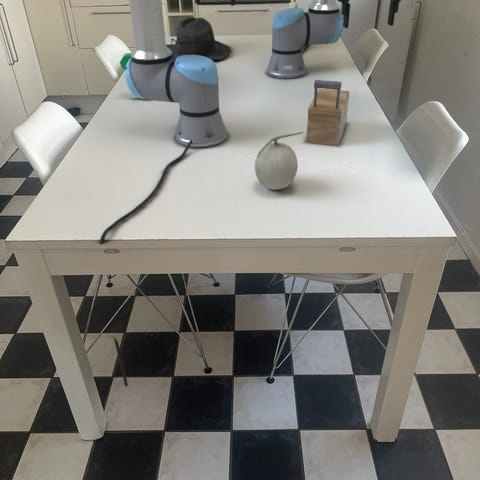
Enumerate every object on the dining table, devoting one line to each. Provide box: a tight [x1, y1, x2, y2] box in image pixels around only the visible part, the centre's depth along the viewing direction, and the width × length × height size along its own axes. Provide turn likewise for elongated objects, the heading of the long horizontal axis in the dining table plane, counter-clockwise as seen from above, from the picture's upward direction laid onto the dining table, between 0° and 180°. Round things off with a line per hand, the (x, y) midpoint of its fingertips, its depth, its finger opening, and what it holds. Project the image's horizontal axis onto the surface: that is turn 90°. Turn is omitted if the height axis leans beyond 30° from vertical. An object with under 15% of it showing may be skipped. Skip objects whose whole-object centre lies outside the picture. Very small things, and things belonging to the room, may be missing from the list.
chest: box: [305, 95, 350, 147], centre depth 154 cm, size 17×9×9 cm, turn 163°
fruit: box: [254, 131, 304, 191], centre depth 125 cm, size 10×12×15 cm
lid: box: [307, 79, 350, 116], centre depth 149 cm, size 17×9×9 cm, turn 163°
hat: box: [166, 17, 232, 61], centre depth 227 cm, size 32×35×14 cm
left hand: (215, 4), depth 181 cm, fingers open, 13 cm apart
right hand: (367, 26), depth 151 cm, fingers open, 13 cm apart
